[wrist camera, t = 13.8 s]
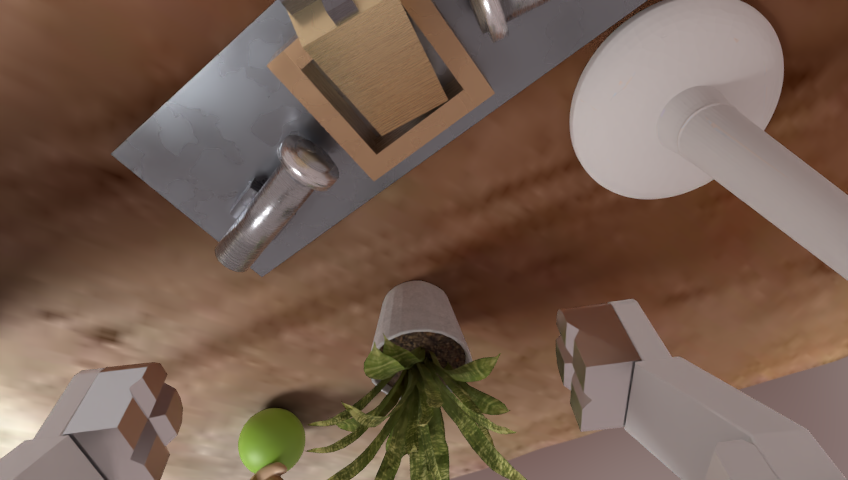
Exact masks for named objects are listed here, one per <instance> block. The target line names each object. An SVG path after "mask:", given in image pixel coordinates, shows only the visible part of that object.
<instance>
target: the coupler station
mask: <svg viewBox="0 0 848 480" xmlns="http://www.w3.org/2000/svg"><path fill="white" fill-rule="evenodd" d="M646 1H647V0H551V1H549V2H547V3H545V4H543V5H541V6H539V7H537V8H535V9H533V10H531V11H529V12H527V13H525V14H523V15H521V16H519V17H517V18H515V19H513V20H511V21H509V22H507V26H508V30H509V36H507V37H505V38H503V39H501V40H499V41H497V42H495V43H493V42H492V41H491V39H490V37H489V35H488V33H487V32H486V33H484V34H483V33H482V32H481V30H480V28H479V25H478V23H477V21H476V19H475V16H474V14H473V11H472V9H471V6H470V4H469V1H468V0H400V2H401V4H402V6H403V8H404V10H405V12H406V14H407V16H408V18H409V20H410V22H411V24H412V26H413V28H414V31H415V33H416V35H417V37H418V39H419V41H420V43H421V45H422V47H423V49H424V51H425V53H426V55H427V57H428V59H429V61H430V63H431V65H432V68H433V70H434V72H435V74H436V76H437V78H438V80H439V82H440V84H441V86H442V88H443V90H444V92H445V94H446V96H447V98H448V101H446V102H444V103H442V104H440V105H439V106H437V107H435V108H433V109H431V110H429V111H428V112H426V113H424V114H422V115H420V116H418V117H416V118H415V119H413V120H411V121H409V122H407V123H405V124H403V125H402V126H400V127H398V128H396V129H394V130H392V131H391V132H389V133H387V134H385V135H383V136H381V135H380V133H379V132H378V131H377V130H376V129H375V128H374V127H373V126H372V124H371V123H370V122H369V121H368V120H367V119H366V118H365V117H364V116H363V114H362V113H361V112H360V111H359V110H358V109H357V108H356V107H355V106H354V104H353V103H352V102H351V101H350V100H349V99H348V98H347V97H346V95H345V94H344V93H343V92H342V91H341V90H340V89H339V88H338V87H337V85H336V84H335V83H334V82H333V81H332V80H331V79H330V78H329V76H328V75H327V74H326V73H325V72H324V71H323V70H322V69H321V68H320V66H319V65H318V64H317V63H316V62H315V61H314V60H313V59H312V58H311V56H310V55H309V54H308V53H307V52H306V51H305V50H304V49H303V47H302V45H301V43H300V41H299V38H298V36H297V33H296V31H295V29H294V26H293V24H292V22H291V19H290V17H289V14H288V12H287V10H286V8H285V7H284V6H283V5H282V3H281V2H280V0H276V1H275V2H274V3H273V4H272V5H270V6H269V7H268V8H267V9H266V10H265V11H264V12H263V13H262V14H261V15H260V16H259V17H258V18H256V19H255V20H254V21H253V22H252V23H251V24H250V25H249V26H248V27H247V28H246V29H245V30H243V31H242V32H241V33H240V34H239V35H238V36H237V37H236V38H235V39H234V40H233V41H232V42H231V43H229V44H228V45H227V46H226V47H225V48H224V49H223V50H222V51H221V52H220V53H219V54H218V55H217V56H215V57H214V58H213V59H212V60H211V61H210V62H209V63H208V64H207V65H206V66H205V67H204V68H203V69H201V70H200V71H199V72H198V73H197V74H196V75H195V76H194V77H193V78H192V79H191V80H190V81H188V82H187V83H186V84H185V85H184V86H183V87H182V88H181V89H180V90H179V91H178V92H177V93H176V94H174V95H173V96H172V97H171V98H170V99H169V100H168V101H167V102H166V103H165V104H164V105H163V106H162V107H160V108H159V109H158V110H157V111H156V112H155V113H154V114H153V115H152V116H151V117H150V118H149V119H148V120H146V121H145V122H144V123H143V124H142V125H141V126H140V127H139V128H138V129H137V130H136V131H135V132H133V133H132V134H131V135H130V136H129V137H128V138H127V139H126V140H125V141H124V142H123V143H122V144H121V145H119V146H118V147H117V148H116V149H115V150H114V151H113V152H112V153H111V155H112V156H114V157H115V158H116V159H117V160H118V161H120V162H121V163H122V164H123V165H125V166H126V167H127V168H128V169H130V170H131V171H132V172H133V173H134V174H136V175H137V176H138V177H139V178H141V179H142V180H143V181H144V182H146V183H147V184H148V185H149V186H150V187H152V188H153V189H154V190H155V191H157V192H158V193H159V194H160V195H162V196H163V197H164V198H165V199H166V200H168V201H169V202H170V203H171V204H173V205H174V206H175V207H176V208H178V209H179V210H180V211H181V212H182V213H184V214H185V215H186V216H187V217H189V218H190V219H191V220H192V221H194V222H195V223H196V224H197V225H198V226H200V227H201V228H202V229H203V230H205V231H206V232H207V233H208V234H210V235H211V236H212V237H213V238H214V239H216V240H217V241H218V242H220V240H221V239H222V238H223V237H224V235H225V234H226V233H227V231H228V230H229V229H230V228H231V226H232V225H233V224H234V222H235V221H236V220H237V218H235V217H234V216H232V215H230V212H231V209H232V207H233V205H234V203H235V202H236V201H237V199H238V198H239V197H240V195H241V194H242V193H243V191H244V190H245V189H246V187H247V186H248V185H249V184H250V182H251V181H252V180H253V178H254V177H255V178H256V179H258V180H259V181H261V182H262V183H264V184H265V183H266V181H267V180H268V179H269V177H270V176H271V175H272V174H273V172H274V171H275V170H276V168H277V167H278V166H279V165H280V161H279V159H278V156H277V149H278V147H279V146H280V145H281V143H282V142H283V141H284V140H285V138H286V137H287V136H289V135H297V136H300V137H303V138H305V139H308V140H310V141H312V142H314V143H315V144H317V145H318V146H320V147H321V148H322V149H323V150H325V151H326V152H327V154H328V155H329V156H330V157H331V159H332V160H333V161H334V163H335V164H336V166H337V168H338V170H339V178H338V180H337V181H336V182H335V183H334V184H333V186H332V187H331V188H330V189H329V190H327V191H317V190H314V191H313V193H312V194H311V195H310V196H309V197H308V199H307V200H306V201H305V202H304V203H303V205H302V206H301V207H300V208H299V209H298V211H297V212H296V215H295V217H294V218H293V219H292V220H291V222H290V223H289V224H288V225H287V226H286V228H285V229H284V230H283V231H282V232H281V234H280V235H279V236H278V237H277V238H276V239H275V241H274V240H273V241H272V242H271V243H270V244H269V245H268V247H267V248H266V249H265V250H264V251H263V252H262V254H261V255H260V256H259V257H258V258H257V260H256V261H255V262H254V263H253V264H252V266H251V267H250V268H251V269H253V270H254V271H255V272H256V273H257V274H259V275H260V276H261V277H263V276H264V275H265V274H267V273H268V272H270V271H271V270H272V269H274V268H275V267H277V266H278V265H279V264H281V263H282V262H284V261H285V260H286V259H288V258H289V257H291V256H292V255H293V254H295V253H296V252H298V251H299V250H300V249H302V248H303V247H304V246H306V245H307V244H309V243H310V242H311V241H313V240H314V239H316V238H317V237H318V236H320V235H321V234H323V233H324V232H325V231H327V230H328V229H330V228H331V227H332V226H334V225H335V224H337V223H338V222H339V221H341V220H342V219H343V218H345V217H346V216H348V215H349V214H350V213H352V212H353V211H355V210H356V209H357V208H359V207H360V206H362V205H363V204H364V203H366V202H367V201H369V200H370V199H371V198H373V197H374V196H375V195H377V194H378V193H380V192H381V191H382V190H384V189H385V188H387V187H388V186H389V185H391V184H392V183H394V182H395V181H396V180H398V179H399V178H401V177H402V176H403V175H405V174H406V173H408V172H409V171H410V170H412V169H413V168H414V167H416V166H417V165H419V164H420V163H421V162H423V161H424V160H426V159H427V158H428V157H430V156H431V155H433V154H434V153H435V152H437V151H438V150H440V149H441V148H442V147H444V146H445V145H447V144H448V143H449V142H451V141H452V140H453V139H455V138H456V137H458V136H459V135H460V134H462V133H463V132H465V131H466V130H467V129H469V128H470V127H472V126H473V125H474V124H476V123H477V122H479V121H480V120H481V119H483V118H484V117H485V116H487V115H488V114H490V113H491V112H492V111H494V110H495V109H497V108H498V107H499V106H501V105H502V104H504V103H505V102H506V101H508V100H509V99H511V98H512V97H513V96H515V95H516V94H518V93H519V92H520V91H522V90H523V89H524V88H526V87H527V86H529V85H530V84H531V83H533V82H534V81H536V80H537V79H538V78H540V77H541V76H543V75H544V74H545V73H547V72H548V71H550V70H551V69H552V68H554V67H555V66H557V65H558V64H559V63H561V62H562V61H563V60H565V59H566V58H568V57H569V56H570V55H572V54H573V53H575V52H576V51H577V50H579V49H580V48H582V47H583V46H584V45H586V44H587V43H589V42H590V41H591V40H593V39H594V38H596V37H597V36H598V35H600V34H601V33H602V32H604V31H605V30H607V29H608V28H609V27H611V26H612V25H614V24H615V23H616V22H618V21H619V20H621V19H622V18H623V17H625V16H626V15H628V14H629V13H630V12H632V11H633V10H634V9H636V8H637V7H639V6H640V5H641V4H643V3H644V2H646Z"/></svg>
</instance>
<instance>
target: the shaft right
mask: <svg viewBox="0 0 848 480" xmlns="http://www.w3.org/2000/svg"><path fill="white" fill-rule="evenodd" d="M468 1H469V4H470V6H471V9H472V11H473V14H474V16H475V19H476V21H477V23H478V25H479V28H480V30H481V32H482V33H483V34H484V33H486V32H487V33H488V35H489V37H490V39H491V41H492V42H493V43H495V42H497V41H499V40H501V39H503V38H505V37H507V36H509V30H508V26H507V22H509V21H511V20H513V19H515V18H517V17H519V16H521V15H523V14H525V13H527V12H529V11H531V10H533V9H535V8H537V7H539V6H541V5H543V4H545V3H547V2H549V1H551V0H468Z"/></svg>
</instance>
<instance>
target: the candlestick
mask: <svg viewBox="0 0 848 480" xmlns="http://www.w3.org/2000/svg"><path fill="white" fill-rule="evenodd" d="M783 77H784V60H783V53H782V48H781V45H780V42H779V39H778V37H777V34H776V32H775V31H774V29H773V27H772V26H771V24H770V23H769V22H768V20H767V19H766V18H765V17H764V16H763V15H762V14H761V13H760V12H759V11H757V10H756V9H755V8H753V7H752V6H750V5H748V4H747V3H745V2H742V1H740V0H663V1H660V2H658V3H656V4H654V5H651V6H649V7H647V8H645V9H644V10H642V11H640V12H638V13H637V14H635V15H634V16H632V17H631V18H629V19H628V20H627V21H625V22H624V23H623V24H622V25H620V26H619V27H618V28H617V29H616V30H615V31H613V32H612V33H611V34H610V35H609V36H608V37H607V38H606V39H605V41H604V42H603V43H602V44H601V45H600V46H599V48H598V49H597V50H596V52H595V53H594V54H593V56H592V57H591V58H590V60H589V62H588V63H587V65H586V67H585V68H584V70H583V72H582V74H581V76H580V78H579V81H578V83H577V86H576V89H575V92H574V95H573V99H572V103H571V109H570V136H571V141H572V145H573V148H574V151H575V153H576V156H577V158H578V160H579V161H580V163H581V165H582V166H583V167H584V169H585V170H586V172H587V173H588V174H589V175H590V176H591V177H592V178H593V179H594V180H595V181H596V182H597V183H599V184H600V185H601V186H603V187H604V188H606V189H608V190H610V191H612V192H614V193H616V194H619V195H622V196H626V197H630V198H636V199H661V198H667V197H673V196H676V195H680V194H683V193H686V192H689V191H692V190H694V189H697V188H699V187H701V186H703V185H705V184H707V183H709V182H710V181H712V180H716V181H717V182H718V183H720V184H721V185H722V186H724V187H725V188H726V189H727V190H729V191H730V192H731V193H733V194H734V195H735V196H737V197H738V198H739V199H741V200H742V201H743V202H745V203H746V204H747V205H749V206H750V207H751V208H753V209H754V210H755V211H757V212H758V213H759V214H760V215H762V216H763V217H764V218H766V219H767V220H768V221H770V222H771V223H772V224H774V225H775V226H776V227H778V228H779V229H780V230H782V231H783V232H784V233H786V234H787V235H788V236H790V237H791V238H792V239H793V240H795V241H796V242H797V243H799V244H800V245H801V246H803V247H804V248H805V249H807V250H808V251H809V252H811V253H812V254H813V255H815V256H816V257H817V258H819V259H820V260H821V261H823V262H824V263H825V264H826V265H828V266H829V267H830V268H832V269H833V270H834V271H836V272H837V273H838V274H840V275H841V276H842V277H844V278H845V279H846V280H848V195H847V194H845V193H844V192H843V191H842V190H840V189H839V188H838V187H836V186H835V185H834V184H832V183H831V182H830V181H828V180H827V179H826V178H825V177H823V176H822V175H821V174H819V173H818V172H817V171H815V170H814V169H813V168H812V167H810V166H809V165H808V164H806V163H805V162H804V161H802V160H801V159H800V158H798V157H797V156H796V155H795V154H793V153H792V152H791V151H789V150H788V149H787V148H785V147H784V146H783V145H782V144H780V143H779V142H778V141H776V140H775V139H774V138H772V137H771V136H770V135H768V134H767V133H766V132H765V131H764V130H765V128H766V127H767V125H768V123H769V121H770V119H771V117H772V115H773V113H774V111H775V108H776V106H777V103H778V100H779V97H780V94H781V89H782V84H783Z"/></svg>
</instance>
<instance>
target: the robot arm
mask: <svg viewBox="0 0 848 480" xmlns="http://www.w3.org/2000/svg"><path fill="white" fill-rule="evenodd" d="M556 324H557V327H558V329H559V332H560V334H561V335H560V336H559V337H558V338H557V339H556V357H557V365H558V369H559V372H560V376H561V379H562V382H563V385H564V386H565V387H567V388H568V389H569V390H571V399H570V404H571V407H572V409H573V412H574V415H575V417H576V420H577V423H578V425H579V428H580V431H581V432H582V431H592V430H602V429H611V428H622V427H625V430H626V431H627V432H628V433H629V434H630V435H631V436H633V437H634V438H635V439H636V440H637V441H638V442H639V443H641V444H642V445H643V446H644V447H645V448H646V449H647V450H649V451H650V452H651V453H652V454H653V455H654V456H655V457H657V458H658V459H659V460H660V461H661V462H662V463H663V464H665V465H666V466H667V467H668V468H669V469H670V470H671V471H672V472H673V473H675V474H676V475H677V476H678V477H679V478H680V479H681V480H847V479H846V478H845V477H844V475H843V474H842V473H841V472H840V470H839V469H838V468H837V467H836V465H835V464H834V463H833V461H832V460H831V459H830V458H829V456H828V455H827V454H826V452H825V451H824V450H823V449H822V447H821V446H820V445H819V444H818V442H817V441H816V440H815V438H814V437H813V436H812V435H811V433H810V432H809V431H808V429H806V428H804V427H802V426H801V425H799V424H797V423H795V422H794V421H792V420H790V419H788V418H787V417H785V416H783V415H781V414H780V413H777V412H776V411H774V410H773V409H771V408H769V407H767V406H765V405H764V404H762V403H760V402H759V401H757V400H755V399H753V398H752V397H750V396H748V395H746V394H744V393H743V392H741V391H739V390H738V389H736V388H734V387H732V386H731V385H729V384H727V383H725V382H724V381H722V380H720V379H718V378H717V377H715V376H713V375H711V374H710V373H708V372H706V371H704V370H703V369H701V368H699V367H697V366H696V365H694V364H692V363H690V362H689V361H687V360H685V359H683V358H682V357H672V356H671V355H670V353H669V351H668V350H667V348H666V347H665V345H664V343H663V342H662V340H661V339H660V337H659V336H658V334H657V332H656V331H655V329H654V328H653V326H652V324H651V323H650V321H649V320H648V318H647V316H646V315H645V313H644V312H643V310H642V308H641V307H640V305H639V304H638V302H637V301H636V300H634V299H628V300H621V301H614V302H608V303H601V304H594V305H587V306H579V307H572V308H565V309H558V313H557V323H556ZM166 377H167V373H166V371H165V370H164V368H163V367H162V365H161V364H160V363H155V362H151V363H142V364H133V365H123V366H114V367H106V368H100V369H90V370H82V371H80V372H79V373H77V374H76V375H74V377H73V378H72V380H71V381H70V383H69V384H68V386H67V388H66V389H65V391H64V392H63V394H62V395H61V397H60V398H59V400H58V402H57V403H56V405H55V406H54V408H53V409H52V411H51V412H50V414H49V416H48V417H47V419H46V420H45V422H44V423H43V425H42V426H41V428H40V430H39V431H38V433H37V434H36V436H35V437H34V439H33V440H27V441H24V442H23V443H21V444H20V445H19V446H17V447H16V448H15V449H13V450H12V451H11V452H9V453H8V454H7V455H5V456H4V457H3V458H1V459H0V480H160V479H161V477H162V474H163V472H164V469H165V466H166V464H167V461H168V458H169V456H170V454H169V451H168V449H167V447H166V445H167V444H168V443H169V442H171V441H172V440H173V439H174V438H175V437H176V436H177V435H178V432H179V429H180V426H181V423H182V412H183V407H182V402H181V398H180V396H179V394H178V392H177V390H176V389H175V388H173V387H171V386H169V385H167V384H166V383H164V382H165V379H166Z"/></svg>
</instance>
